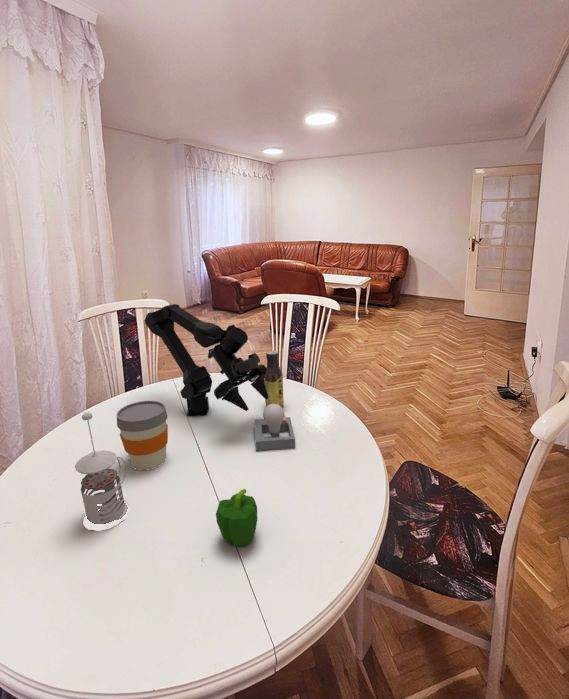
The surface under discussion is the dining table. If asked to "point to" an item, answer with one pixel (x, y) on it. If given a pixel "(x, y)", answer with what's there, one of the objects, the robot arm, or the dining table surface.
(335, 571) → the dining table surface
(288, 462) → the dining table surface
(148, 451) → the reusable coffee cup
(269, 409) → the lightbulb
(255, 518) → the bell pepper
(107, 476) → the french press
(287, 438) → the socket
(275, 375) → the sauce bottle
